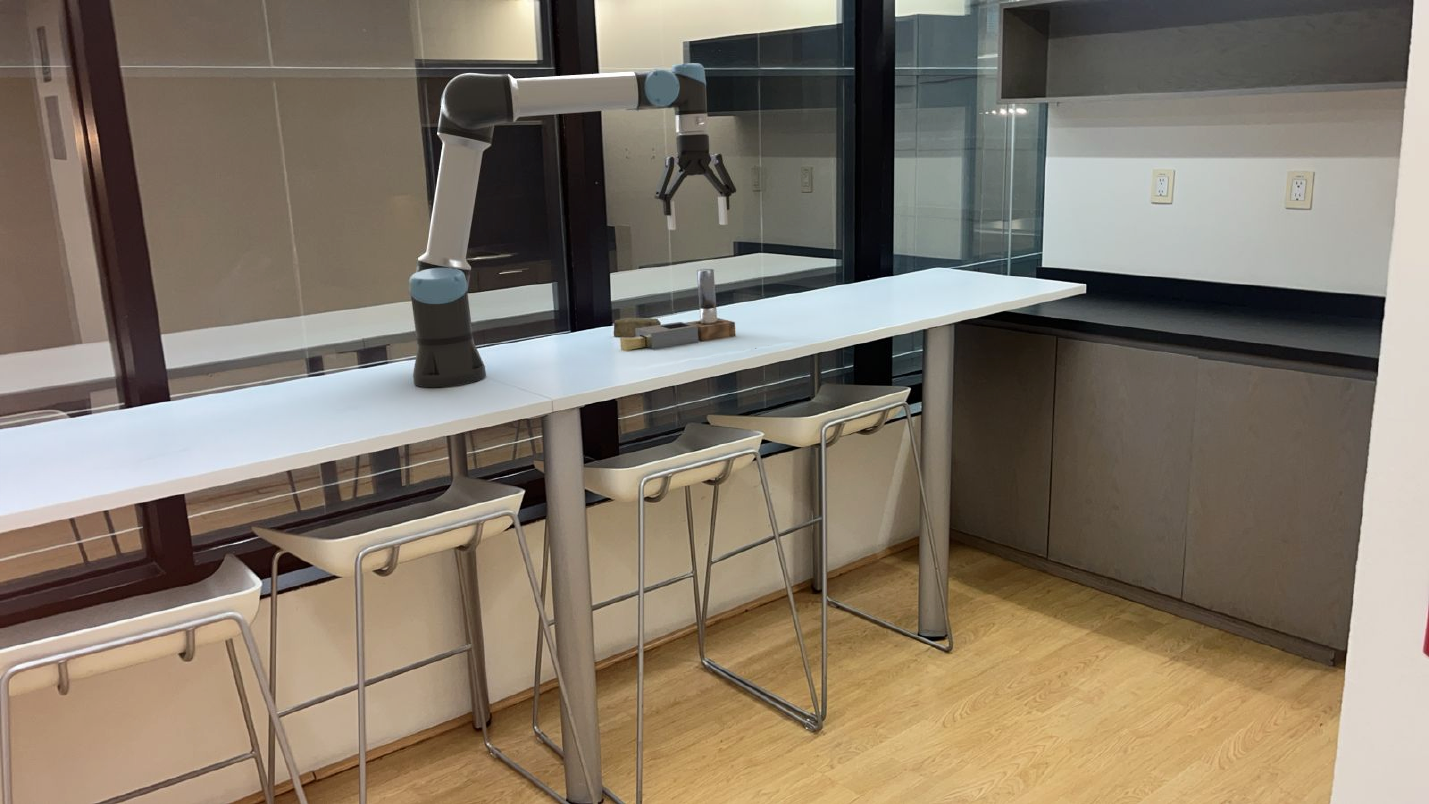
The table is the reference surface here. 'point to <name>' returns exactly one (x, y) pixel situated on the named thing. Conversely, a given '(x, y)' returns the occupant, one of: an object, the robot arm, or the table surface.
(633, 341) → the tan wooden bar
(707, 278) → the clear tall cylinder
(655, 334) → the socket
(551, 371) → the table surface
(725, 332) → the brown wooden open box
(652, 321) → the stone block
